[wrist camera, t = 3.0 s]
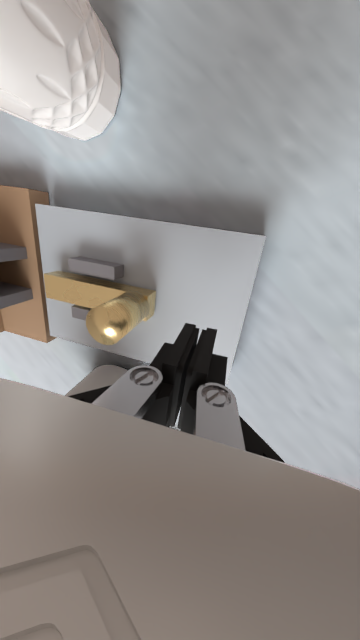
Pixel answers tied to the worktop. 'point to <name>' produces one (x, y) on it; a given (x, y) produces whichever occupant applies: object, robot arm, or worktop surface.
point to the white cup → (58, 66)
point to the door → (122, 273)
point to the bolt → (103, 303)
